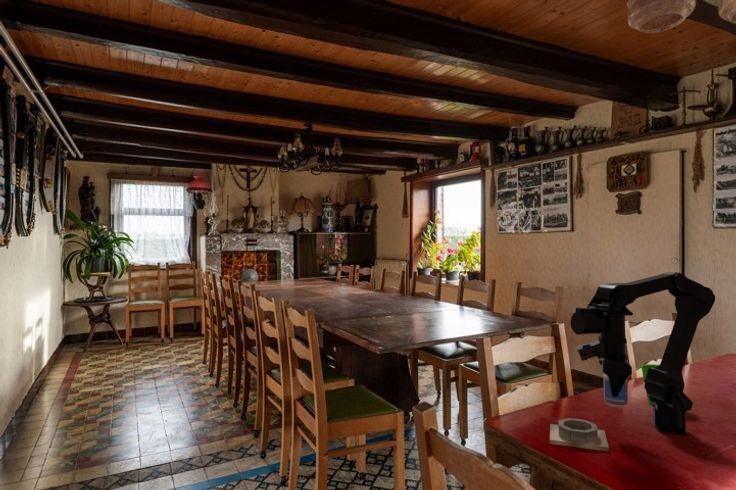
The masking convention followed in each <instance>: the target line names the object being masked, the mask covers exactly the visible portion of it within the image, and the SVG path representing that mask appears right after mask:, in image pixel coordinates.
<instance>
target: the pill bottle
mask: <svg viewBox="0 0 736 490" xmlns="http://www.w3.org/2000/svg"><path fill="white" fill-rule="evenodd" d="M603 401H604V404H605V405H607V406H610V407H615V408H624V407H625V408H626V407H627V406H628V403H629V402H628V378H627V379H626V381H625V383H624V385H623V387H622V389H621V391H620V393H619V395H618V397H613V396H612V392H611V387H610V383H609V378H608V376H607V375H606V374H605V373H603Z"/></svg>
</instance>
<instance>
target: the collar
mask: <svg viewBox="0 0 736 490" xmlns="http://www.w3.org/2000/svg"><path fill="white" fill-rule="evenodd" d="M549 444H550V445H556V446H557V445H558V446H564V447H573V448H578V449H587V450H593V451H594V450H595V451H600V450H601V452H608V451H609V452H610V447H609V443H608V440H607V436H606V432H605V430H604V429H598V427H597V424H595V423H594V422H591V421H588V420H585V419H583V418H582V419H579V418H572V417H570V418H569V417H568V418H563V419H559V420H558V424H553V423H550V426H549Z"/></svg>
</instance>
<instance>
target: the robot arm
mask: <svg viewBox="0 0 736 490" xmlns="http://www.w3.org/2000/svg"><path fill="white" fill-rule="evenodd" d="M664 291H667V292H668V293H669V294H670V295H671V296H673V297H674V298H675V299H674V307H675V311H676V317H675V320H674V323H673V326H672V328H671V329H672V330H671V332H670V333H669V334H670V335H669V338H668V340H667V343H666V347H665V349H664V352H663V356H662V357H661V361H660V364H658V365H659V366H657V367H656V368H655V369H654V368H651V367H650V368H649V369H648V372H647V376H646V378H645V379H644V378H643V382H645V383H644V385H643V386H644V390H645V392H647V394H648V396H649V399H650V401H651V402H655V405H654V408H653V409H652V419H653V422H652V423H653V425H654V426H655V428H656V429H657V431H658V432H660V433H661V432H663V433H667V434H669V433H670V434H678V435H685V436H686V435H688V434H689V432H688V431H687V429H686V428H687V427H686V426H687V425H686V423H687V421H686V413H687V411H688V412H689V411H691V410H692V408H693V404H694V403H693V401H692V399H691V398H689V397H688V396H687V394H686V393H685V392H684V390H685V379H684V377H683V376H684V375H683V369H684V366H685V364H686V363H685V362H686V360H687V357H688V355H689V351H690V350H691V345H692V343H693V339H694V336H695V333H696V330H697V328H698V324H699V322H700V321H701V320H702V319H703V318H705V316H707V315H708V314H709V313H710V312H711V310H712V309H713V306H714V304H715V301H716V295H715V294H714V291H713V290H712V289H711V288H710V287H708V286H704V285H703V284H701V283H699V282H697V281H695V280H693V279H690V278H689V277H687V276H686V275H685V274H682V273H681V272H676V271H675V272H674V271H665V272H662V273H660V274H656V275H653V276H648V277H646V278H642V279H641V278H640V279H637V280H633V281H630V282H613V283H610V282H609V283H602V284H599V285H598V286H597V289H596V291H595V294H594V295H593V297H592V298H591V300H590V301H589V303H588V305H587V306H586V307H581V306H580V307H575V312H574V313H572V316H571V319H570V321H569V322H570V323H569V324H570V326H571V327H570V328H571V329H572V331H573V333H574V334H575V335H578V336H579V335H580V336H581V335H583V336H584V335H597V334H599V335H598V340H595V341H589V342H587V343H582V344H580V345H577V346H576V350H577V352H578V356H579V357H580V360H581V361H582V362H583V361H588V360H589V359H591V358H597V359H598V363H599V365H600V366H601V371H602V373H603V374H606V375H607V376H608V378H609V383H610V387H611V392H612V396H613V397H618V395H619V393H620V391H621V389H622V387H623V385H624V383H625V381H626V379H627V380H628V377H629V376H632V375H633V366H632V364H631V363H630V362H629V361H628V356H627V353H626V352H627V351H626V346H627V345H626V344H627V343H628V339H627V337H626V317H627V316H633V315H634V313H633V312H632V311H631V310H630V309H629V308H628V307H627V306H629V305H631V304H633V303H634V302H635V301H636V300H637V299H639V298H642V297H647V296H649V295H653V294H657V293H660V292H664ZM647 394H646V395H647Z"/></svg>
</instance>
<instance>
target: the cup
mask: <svg viewBox="0 0 736 490" xmlns="http://www.w3.org/2000/svg"><path fill="white" fill-rule="evenodd" d="M659 365H660V364H653V363H651V364H650V363H649V364H647V363H646V364H642V365H640V369H641V371H642V372H641V373H642V377H643V380H644V379H645V378H646V376H647V372H648V369H649V368H650V367H651V368H654V369H655V368H656V367H657V366H659ZM643 382H644V381H643ZM644 384H645V382H644ZM645 392H646V391H645ZM646 397H647V402H648V404H650V405H652V406H655V402H651V401H650V399H649V396H648V394H647V392H646Z"/></svg>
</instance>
